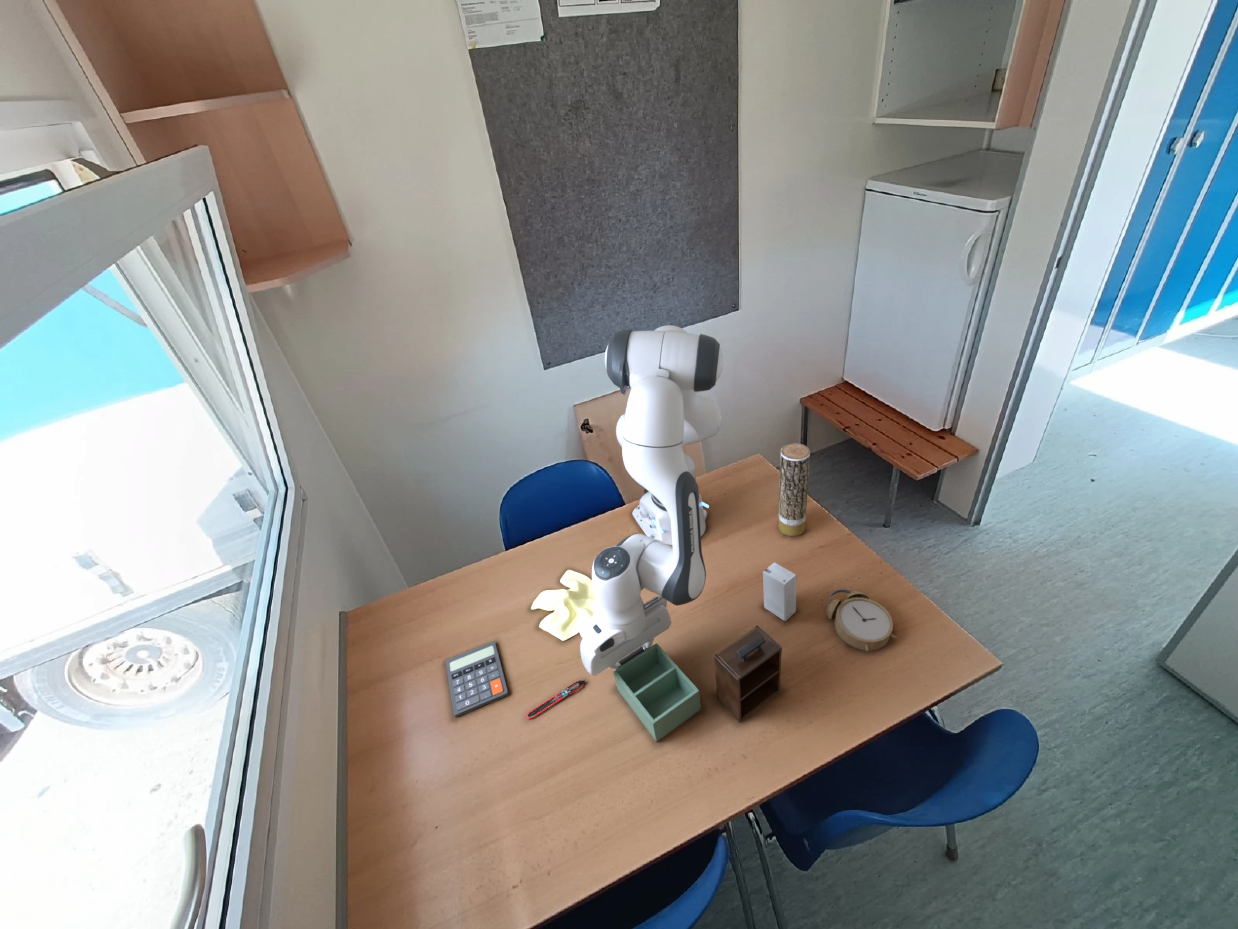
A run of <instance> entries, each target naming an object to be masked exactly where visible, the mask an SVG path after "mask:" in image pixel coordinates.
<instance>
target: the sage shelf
mask: <svg viewBox="0 0 1238 929" xmlns="http://www.w3.org/2000/svg"><path fill="white" fill-rule="evenodd" d="M618 662H619V663H620V664H621V667H619V668H618V669H616V670H615V671H614V670H613V671H612V674H613V677H614V682H615V686H616V689H617V691H618V693H619V694H620V696H621V697H622V698H623V700H624V701H625V702H626V704H627V705H628V706H629V708H630V709H631V710H632V711H633V713H634V714H635V716H636V718H638V719H639V721H640V722H641V724H642V725H643V726H644V727H645V729H646V731H647V732H648V733H649V734H650V736H651V737H652V738H653V740H654V741H655V742H656V743H657V742H659V741H660V740H662V739H663V738H665V736H667V735H669V734H670V733H672V732H673V731H674V730H675V729H677V728H678V727H680V726H681V725H682V724H684V723H685V722H686V721H688V720H689V719H690V718H692V717H693V716H695V715H696V714H697V713H699V712H700V711H701V710H702V706H701V704H702V703H701V695H700V690H699V689H698V688H697V687H696V685H695V684H694V683H693V682H692V681H691V679H689V677H688V675H686V674H685V672H684V671H682V670H681V669H680V667H679V666H678V665H677V664H676V663H675V661H674V660H672V658H671V657H670V656H669V655H668V654H667V653H666V651H664V649H663V648H662V647H661V646H660V645H659V644H658V643H654V644H652V645H651V646H650V648H648V649H647V650H645V651H644V650H643V648H642V647H639V648H638V649H636V650H635V651H633V652H631V653H630V654H628V655H627V656H625V657H624V658H622V659H621V660H619V661H618Z"/></svg>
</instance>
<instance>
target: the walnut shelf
mask: <svg viewBox="0 0 1238 929" xmlns="http://www.w3.org/2000/svg"><path fill="white" fill-rule="evenodd" d="M782 658H783V646H781V645H780V644H779V643H778V642H777V641H775V639H773V637H771V636H770V635H769V634H768V633H767V632H766V631H764V630H763V629H762V628H761V627H760V626H759V625H755V626H754V627H753V628H751V629H750V630H748V631H747V632H745V633H744V634H743V635H741V636H739V637H738V638H737V639H735V640H734V641H733V642H731V643H730V644H728V645H727V646H725V647H724V648H722V649H721V650H720V651H718V652H716V653H715V654H714V655H713V662H714V663H713V664H714V676H715V677H714V678H715V692H716V699H717V700H718V701H719V702H720V703H721V704H722V706H723V707H724V708H725V709H726V710H727V711H728V712H729V713H730V714H731V715H732V717H733V718H734V719H735V720H736V721H737V722H738V723H741V721H743V720H744V719H746V718H747V717H748V716H749V715H751V714H752V713H753V712H755V711H756V710H757V709H758V708H760V707H761V706H762V705H764V704H765V703H767V701H769V700H770V699H771V698H773V697H774V696H776V694H778V693H779V692H781V683H782V682H781V680H782Z"/></svg>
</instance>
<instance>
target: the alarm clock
mask: <svg viewBox="0 0 1238 929" xmlns="http://www.w3.org/2000/svg"><path fill="white" fill-rule="evenodd" d="M840 593H847V596H846V599H844V600H841V599H840V598H835V599H832V600H831V598H832V597H833V596H834V595H836V594H840ZM825 607H826V615H827V617H828V618H829V619H830V620H833V619H834V623H833V624H834V628H835V632H836V633H837V635H838V636H839V638H840V639H841V640H843V641H844V643H845V644H848V645H849V646H851V647H853V648H855V649H858V650H862V651H865V652H869V651H875V650H879V649H881V648H883V647H884V646H885V645H887V643H888V642H889V640H890V638H892V639H897V636H896V635H895V634H893V628H894V621H893V617H892V615H891V614H890V612H889V611H888V610H887V608H886V607H884V606H883V605H882V604H880V603H879V602H877V601H875V600H873V599H871V598H870V597H869V596H868V594H867V593H866V592H864V591H862V590H853V591H852V590H850V589H847V588H838V589H835V590H832V592H831V593H830V594H829V596H828V602H827V603H826V604H825Z"/></svg>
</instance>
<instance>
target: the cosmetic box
mask: <svg viewBox="0 0 1238 929" xmlns="http://www.w3.org/2000/svg"><path fill="white" fill-rule="evenodd" d="M762 581H763V582H762V584H763V607H764V608H765V610H767V611H769V612H771V613H772V614H773V615H775V616H776V617H778V618H779V619H780V620H782V621H784V622H787V620H788V619H790V618H791V617H792V616H793V615H794V614H795V613H796V612H797V574H796V573H794V572H792V571H791V570H789V569H787V568H785V567H784V566H782V565H780V564H778V563H777V562H775V561H774V562H773V563H771V564H770V565H769V566H768V567H767V568H765V569H764V571H762Z"/></svg>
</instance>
